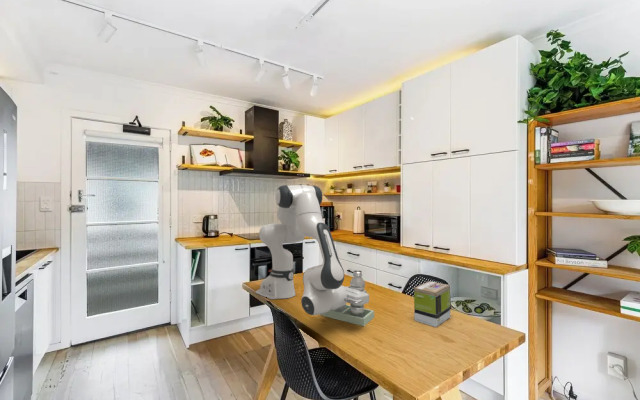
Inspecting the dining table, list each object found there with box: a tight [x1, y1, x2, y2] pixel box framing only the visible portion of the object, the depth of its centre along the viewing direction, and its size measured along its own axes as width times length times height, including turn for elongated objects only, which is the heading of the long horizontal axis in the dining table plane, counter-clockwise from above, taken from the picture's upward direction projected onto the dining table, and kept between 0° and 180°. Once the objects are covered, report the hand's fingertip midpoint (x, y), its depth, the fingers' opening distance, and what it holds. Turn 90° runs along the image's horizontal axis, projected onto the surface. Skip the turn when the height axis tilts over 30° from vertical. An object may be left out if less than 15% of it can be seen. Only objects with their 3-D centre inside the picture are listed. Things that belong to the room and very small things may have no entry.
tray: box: [319, 304, 375, 327], centre depth 132 cm, size 21×11×3 cm, turn 57°
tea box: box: [413, 280, 451, 328], centre depth 130 cm, size 15×10×15 cm, turn 134°
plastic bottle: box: [349, 269, 366, 317], centre depth 130 cm, size 6×7×20 cm
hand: (358, 290), depth 130 cm, fingers closed on plastic bottle, 6 cm apart
